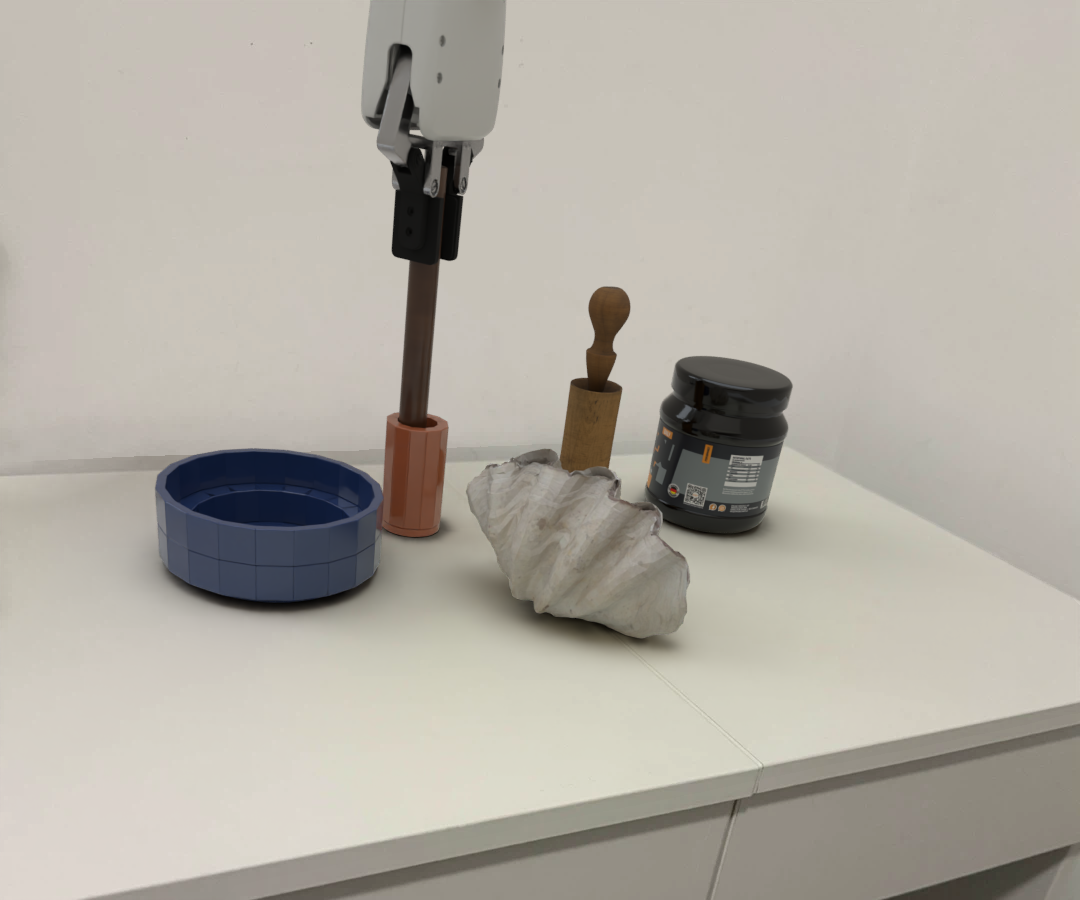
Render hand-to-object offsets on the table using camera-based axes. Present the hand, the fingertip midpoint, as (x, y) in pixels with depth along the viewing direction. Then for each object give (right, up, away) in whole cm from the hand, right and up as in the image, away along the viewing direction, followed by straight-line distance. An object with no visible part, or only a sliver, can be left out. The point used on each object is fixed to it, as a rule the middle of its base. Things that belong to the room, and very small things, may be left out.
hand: (424, 256), depth 70 cm
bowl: (-10, -20, +1) cm, 23 cm away
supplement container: (+22, -13, +21) cm, 33 cm away
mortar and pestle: (+10, -15, +15) cm, 24 cm away
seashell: (+9, -24, +1) cm, 25 cm away
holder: (-2, -16, +10) cm, 19 cm away
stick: (-2, -11, +7) cm, 13 cm away
